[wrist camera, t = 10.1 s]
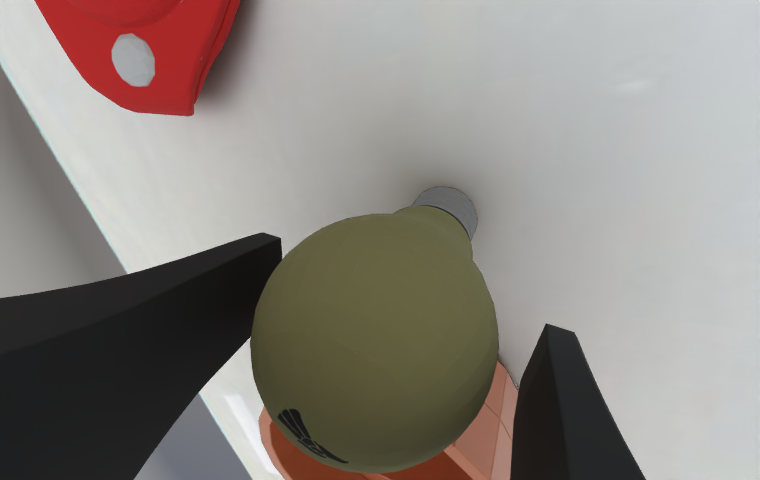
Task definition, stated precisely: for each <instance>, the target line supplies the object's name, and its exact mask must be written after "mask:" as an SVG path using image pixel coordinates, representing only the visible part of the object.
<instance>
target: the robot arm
mask: <svg viewBox="0 0 760 480" xmlns="http://www.w3.org/2000/svg"><path fill="white" fill-rule="evenodd" d="M281 261H282V249H281V238H279V237H276V236H273V235H269V234H266V233H259V234H255V235H251V236H248V237H245V238H242V239H239V240H236V241H233V242H230V243H227V244H224V245H221V246H218V247H215V248H212V249H209V250H206V251H203V252H200V253H197V254H194V255H191V256H188V257H185V258H182V259H179V260H175V261H172V262H169V263H165V264H162V265H159V266H156V267H152V268H149V269H146V270H142V271H139V272H135V273H131V274H127V275H124V276H120V277H115V278H111V279H107V280H102V281H98V282H94V283H89V284H84V285H79V286H73V287H68V288H62V289H56V290H51V291H45V292H40V293H34V294H27V295H20V296H13V297H6V298H0V480H133V479H134V478H135V477H136V475H137V474H138V472H139V471H140V470H141V468H142V467H143V465H144V464H145V462H146V461H147V459H148V458H149V456H150V455H151V454H152V453H153V451H154V450H155V448H156V447H157V446H158V444H159V443H160V442H161V440H162V439H163V438H164V436H165V435H166V434H167V432H168V431H169V429H170V428H171V427H172V425H173V424H174V423H175V421H176V420H177V419H178V418H179V416H180V415H181V414H182V412H183V411H184V410H185V409H186V407H187V406H188V405H189V404H190V402H191V401H192V400H193V398H194V397H195V396H196V395H197V393H198V392H199V391H200V390H201V389H202V388H203V387H204V385H205V384H206V383H207V382H208V381H209V380H210V379H211V378H212V377H213V376H214V375H215V373H216V372H217V371H218V370H219V369H220V368H221V367H222V366H223V365H224V364H225V363H226V362H227V361H228V360H229V359H230V358H231V357H232V356H233V355H234V354H235V352H236V351H237V350H238V349H239V348H240V347H241V346H242V345H243V344H244V343H245V342H246V341H247V340H248V339H249V338H250V337H251V333H252V327H253V321H254V315H255V309H256V306H257V304H258V301H259V299H260V296H261V294H262V292H263V290H264V288H265V285H266V283H267V281H268V279H269V278H270V276H271V274H272V273H273V271H274V270H275V268H276V267H277V266H278V265H279V263H280V262H281ZM510 480H646V479H645V477H644V475H643V474H642V472H641V470H640V468H639V466H638V464H637V463H636V461H635V459H634V457H633V455H632V454H631V452H630V450H629V448H628V446H627V445H626V443H625V441H624V439H623V437H622V435H621V433H620V431H619V429H618V427H617V425H616V423H615V421H614V419H613V417H612V415H611V413H610V411H609V409H608V407H607V405H606V403H605V401H604V399H603V397H602V394H601V392H600V390H599V388H598V386H597V384H596V381H595V379H594V377H593V374H592V372H591V370H590V368H589V365H588V363H587V361H586V358H585V356H584V353H583V351H582V348H581V346H580V343H579V341H578V339H577V337H576V335H575V333H574V332H571V331H568V330H565V329H562V328H559V327H556V326H553V325H550V324H547V323H546V324H545V327H544V329H543V331H542V333H541V336H540V338H539V340H538V342H537V345H536V347H535V349H534V351H533V354H532V356H531V358H530V360H529V363H528V365H527V367H526V369H525V372H524V374H523V376H522V378H521V381H520V387H519V392H518V398H517V403H516V409H515V415H514V422H513V438H512V454H511V473H510Z"/></svg>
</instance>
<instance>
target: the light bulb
mask: <svg viewBox="0 0 760 480" xmlns="http://www.w3.org/2000/svg"><path fill="white" fill-rule="evenodd" d="M477 221H478V218H477V213H476V210H475V208H474V206H473V204H472V202H471V201H470V200H469V199H468V198H467V197H466V196H465V195H464V194H462V193H461V192H459V191H457V190H455V189H452V188H448V187H435V188H431V189H428V190H427V191H425V192H423V193H422V194H421V195H420V196H419V197H418V198H417V199H416V200H415V201H414V203H413V204H412V206H411V207H407V208H403V209H400V210H399V211H397V212H395V213H393V214H370V215H364V216H358V217H352V218H347V219H344V220H341V221H338V222H335V223H333V224H331V225H328V226H326V227H324V228H322V229H320V230H318V231H317V232H315V233H313V234H312V235H310V236H309V237H307V238H306V239H304V240H303V241H302V242H301V243H300V244H298V245H297V246H296V247H295V248H294V249H292V250H291V251H290V252H289V253H288V254H287V255H286V256H285V257H284V258H283V259H282V261H281V262H280V263H279V265H278V266H277V267H276V268H275V270H274V271H273V273H272V274H271V276H270V278H269V279H268V281H267V283H266V285H265V288H264V290H263V292H262V294H261V296H260V299H259V301H258V304H257V306H256V309H255V315H254V321H253V327H252V333H251V340H250V348H251V361H252V370H253V376H254V380H255V383H256V386H257V389H258V392H259V394H260V396H261V399H262V401H263V403H264V406H265V408H266V410H267V412H268V414H269V416H270V418H271V419H272V420H273V422H274V423H275V424H276V425H277V427H278V428H279V429H280V430H281V432H282V433H283V434H284V436H285V437H286V438H287V439H288V440H289V441H290V442H292V443H293V444H294V445H295V446H296V447H297V448H299V449H300V450H301V451H302V452H303V453H305V454H307V455H309V456H310V457H312V458H314V459H315V460H317V461H319V462H321V463H322V464H325V465H328V466H331V467H334V468H337V469H340V470H343V471H347V472H356V473H376V474H380V473H389V472H397V471H400V470H404V469H407V468H410V467H412V466H415V465H417V464H420V463H423V462H425V461H427V460H429V459H431V458H433V457H434V456H436V455H438V454H439V453H441V452H442V451H443V450H444V449H446V448H447V447H448V446H450V445H451V444H452V443H454V442H455V441H456V440H457V439H458V438H459V437H460V436H461V435H462V434H463V433H464V431H465V430H466V429H467V428H468V427H469V425H470V424H471V423H472V422H473V420H474V419H475V418H476V417H477V415H478V413H479V412H480V410H481V408H482V406H483V404H484V402H485V400H486V398H487V395H488V393H489V391H490V389H491V385H492V381H493V377H494V373H495V369H496V365H497V360H498V350H499V343H498V326H497V320H496V314H495V308H494V303H493V301H492V298H491V296H490V293H489V291H488V288H487V286H486V283H485V281H484V278H483V276H482V274H481V272H480V271H479V269H478V268H477V266H476V265H475V263H474V261H473V252H472V246H471V239H472V237H473V235H474V232H475V230H476V227H477Z"/></svg>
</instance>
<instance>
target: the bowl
mask: <svg viewBox="0 0 760 480" xmlns="http://www.w3.org/2000/svg"><path fill="white" fill-rule="evenodd" d="M517 398H518V391H517V389H516V387H515V385H514V383H513V382H512V380H511V378H510V376H509V374H508V372H507V370H506V369H505V368H504V367H503V366H502V365H501V364H500V363H499V362H498V361H497V365H496V369H495V373H494V377H493V381H492V385H491V389H490V391H489V393H488V395H487V398H486V400H485V402H484V404H483V406H482V408H481V410H480V412H479V413H478V415H477V417H476V418H475V419H474V420H473V422H472V423H471V424H470V425H469V427H468V428H467V429H466V430H465V431H464V433H463V434H462V435H461V436H460V437H459V438H458V439H457V440H456V441H455V442H454V443H452V444H451V445H450V446H448V447H447V448H446V449H444V450H443V451H442V452H441V453H439V454H438V455H436V456H434V457H433V458H431V459H429V460H427V461H425V462H423V463H420V464H417V465H415V466H412V467H410V468H407V469H404V470H400V471H397V472H389V473H380V474H376V473H356V472H347V471H343V470H340V469H337V468H334V467H331V466H328V465H325V464H322V463H321V462H319V461H317V460H315V459H314V458H312V457H310V456H309V455H307V454H305V453H303V452H302V451H301V450H300V449H299V448H297V447H296V446H295V445H294V444H293V443H292V442H290V441H289V440H288V439H287V438H286V437H285V436H284V434H283V433H282V432H281V430H280V429H279V428H278V427H277V425H276V424H275V423H274V422H273V420H272V419H271V418H270V416H269V414H268V412H267V410H266V408H265V406H264V407H263V410H262V412H261V415H260V417H259V427H260V434H261V441H262V444H263V446H264V448H265V449H266V451H267V453H268V455H269V457H270V459H271V461H272V463H273V465H274V466H275V468H276V469H277V470H278V471H279V473H280V474H281V475H282V476H283V478H284V479H285V480H510V473H511V454H512V438H513V422H514V415H515V409H516V403H517Z"/></svg>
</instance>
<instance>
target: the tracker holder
mask: <svg viewBox="0 0 760 480" xmlns="http://www.w3.org/2000/svg"><path fill="white" fill-rule="evenodd" d="M240 1H241V0H35V2H36V4H37V6H38V7H39V9H40V11H41V13H42V14H43V16H44V18H45V20H46V21H47V23H48V25H49V27H50V28H51V30H52V31H53V33H54V35H55V36H56V38H57V40H58V41H59V43H60V44H61V46H62V48H63V49H64V51H65V52H66V54H67V56H68V57H69V59H70V60H71V62H72V63H73V65H74V66H75V67H76V69H77V70H78V72H79V73H80V74H81V76H82V77H83V78H84V80H85V81H86V82H87V83H88V84H89V85H90V86H91V87H92V88H94V89H95V90H96V91H98V92H99V93H101V94H102V95H104V96H105V97H107V98H108V99H110V100H111V101H113V102H114V103H116V104H117V105H119V106H120V107H122V108H125V109H128V110H130V111H133V112H138V113H152V114H165V115H179V116H192V115H193V114H194V104H195V103H196V101H197V99H198V97H199V95H200V92H201V90H202V88H203V85H204V82H205V79H206V77H207V75H208V72H209V70H210V68H211V66H212V64H213V62H214V60H215V59H216V57H217V55H218V54H219V52H220V51H221V49H222V48H223V45H224V43H225V41H226V39H227V37H228V35H229V33H230V30H231V27H232V24H233V22H234V19H235V16H236V13H237V10H238V7H239V4H240Z"/></svg>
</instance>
